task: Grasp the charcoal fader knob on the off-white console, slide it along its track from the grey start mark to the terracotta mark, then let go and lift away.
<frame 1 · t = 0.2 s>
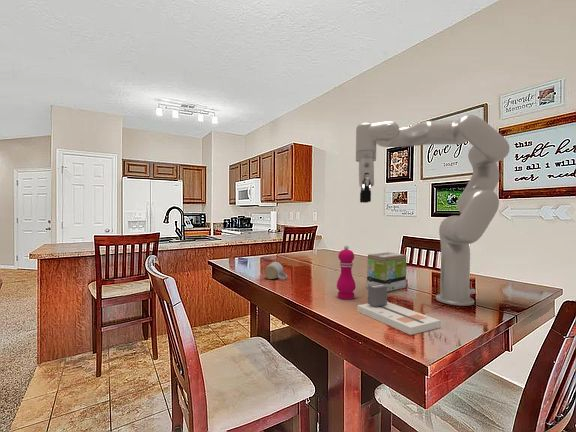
hand: (365, 202, 119), 37 cm above the table, tool pointing down, fingers open, 9 cm apart
fader: (377, 295, 104), point 5 cm above the table, slide at 0.0 cm
pepper mill: (345, 297, 120), on the table
fader console: (395, 318, 97), on the table
ceramic mug: (276, 279, 153), on the table
tea box: (386, 288, 135), on the table
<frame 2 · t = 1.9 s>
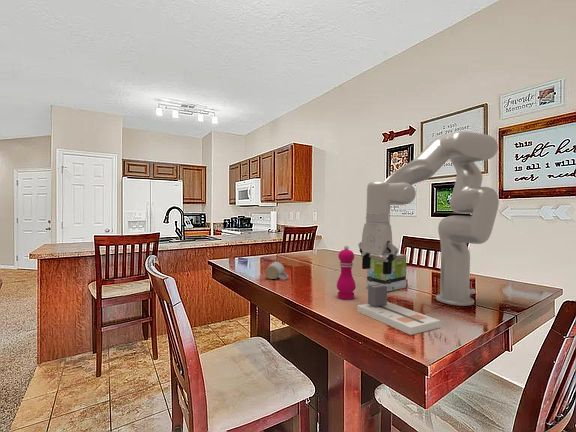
hand: (376, 271, 103), 13 cm above the table, tool pointing down, fingers open, 9 cm apart
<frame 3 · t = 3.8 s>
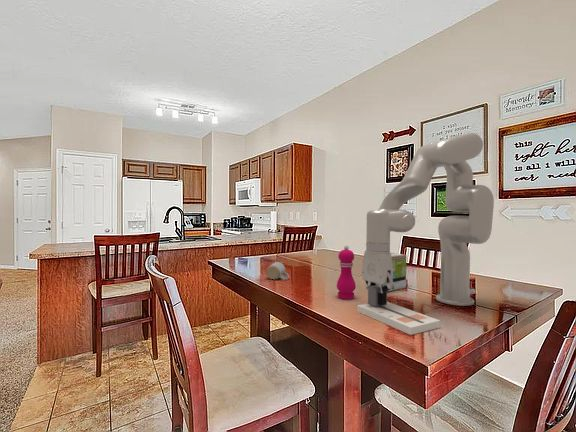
hand: (377, 302, 104), 3 cm above the table, tool pointing down, fingers closed on fader, 3 cm apart
fader: (377, 295, 104), point 5 cm above the table, slide at 0.0 cm, touching gripper
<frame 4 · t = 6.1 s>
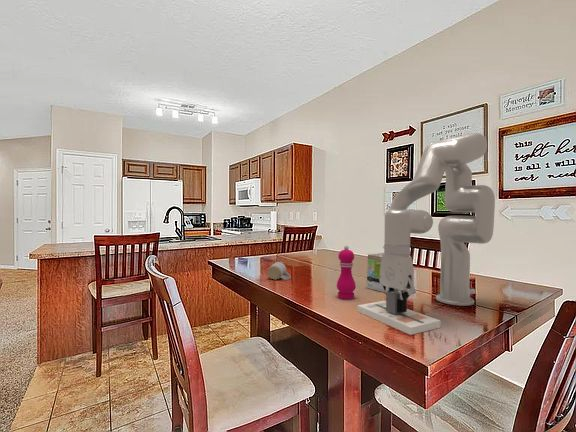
hand: (396, 309, 96), 3 cm above the table, tool pointing down, fingers closed on fader, 3 cm apart
fader: (396, 301, 96), point 5 cm above the table, slide at 8.2 cm, touching gripper
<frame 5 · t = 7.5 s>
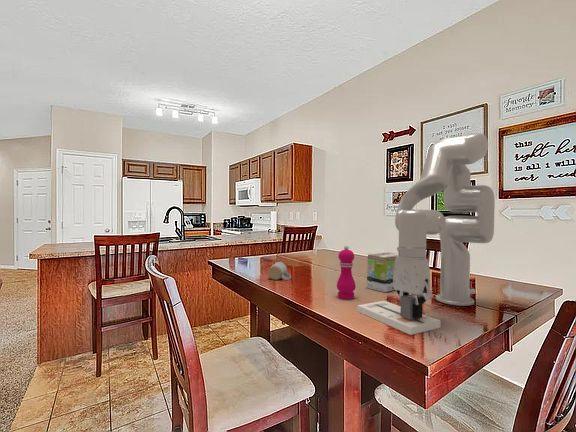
hand: (411, 314, 91), 3 cm above the table, tool pointing down, fingers closed on fader, 3 cm apart
fader: (411, 306, 91), point 5 cm above the table, slide at 13.9 cm, touching gripper
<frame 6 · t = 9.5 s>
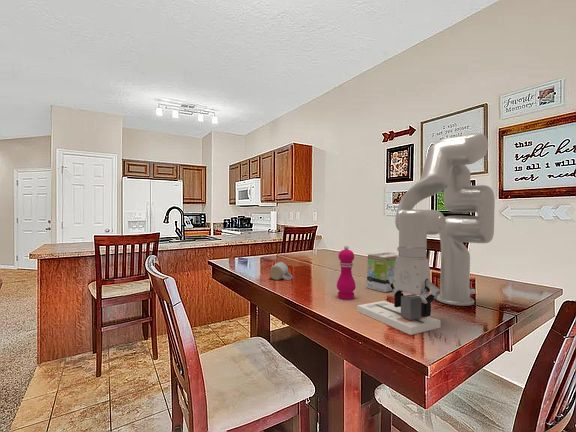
hand: (411, 311, 91), 4 cm above the table, tool pointing down, fingers open, 9 cm apart
fader: (411, 306, 91), point 5 cm above the table, slide at 14.0 cm
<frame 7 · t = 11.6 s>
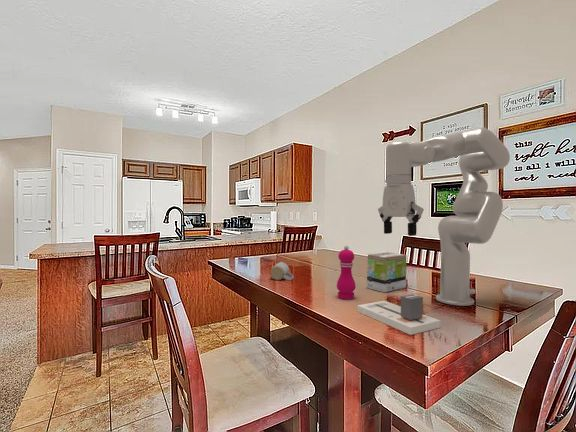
hand: (399, 234, 101), 26 cm above the table, tool pointing down, fingers open, 9 cm apart
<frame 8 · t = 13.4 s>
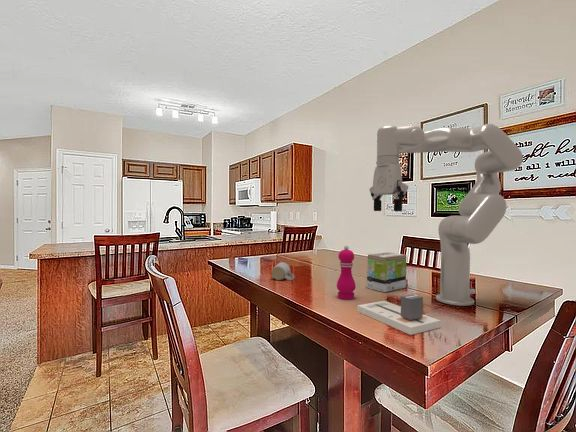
hand: (387, 211, 110), 33 cm above the table, tool pointing down, fingers open, 9 cm apart
at the end: fader slide at 14.0 cm; the gripper is holding nothing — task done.
